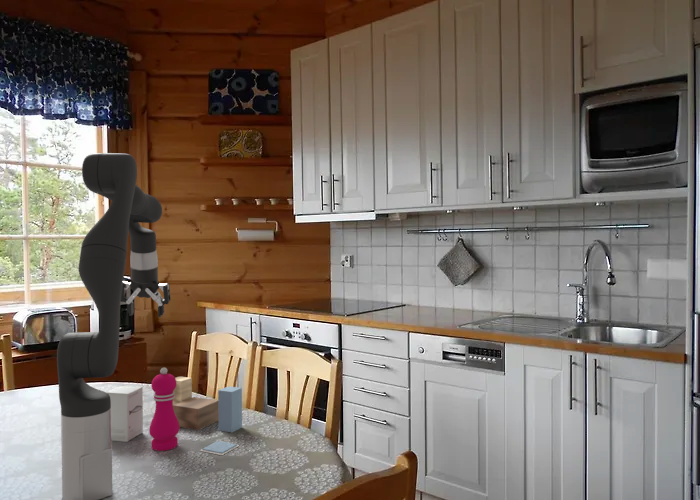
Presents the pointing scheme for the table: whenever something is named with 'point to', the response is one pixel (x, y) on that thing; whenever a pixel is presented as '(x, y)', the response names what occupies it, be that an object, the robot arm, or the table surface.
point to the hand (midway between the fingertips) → (146, 315)
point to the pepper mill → (164, 413)
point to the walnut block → (196, 413)
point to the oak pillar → (182, 389)
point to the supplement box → (126, 412)
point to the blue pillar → (230, 409)
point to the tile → (219, 448)
